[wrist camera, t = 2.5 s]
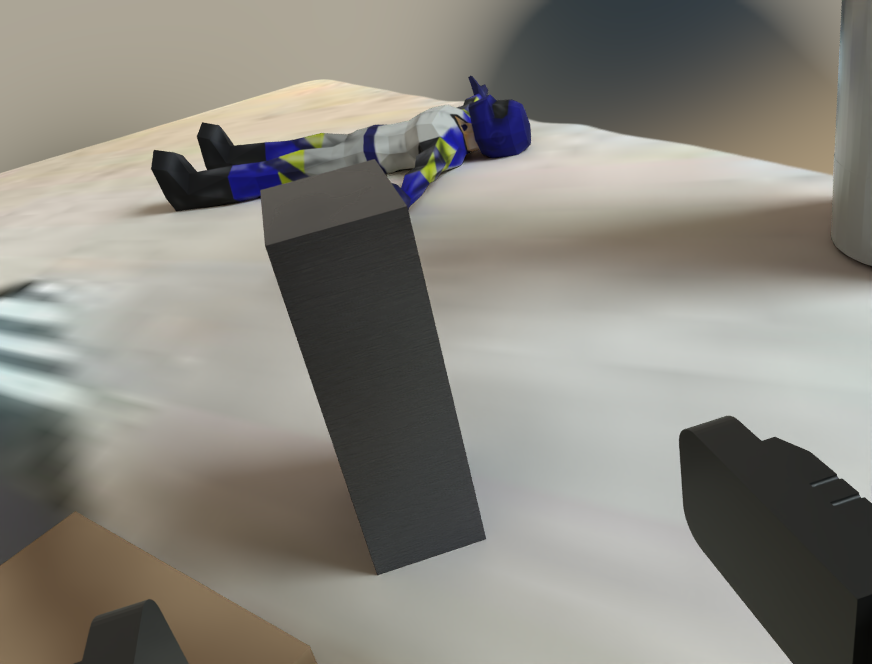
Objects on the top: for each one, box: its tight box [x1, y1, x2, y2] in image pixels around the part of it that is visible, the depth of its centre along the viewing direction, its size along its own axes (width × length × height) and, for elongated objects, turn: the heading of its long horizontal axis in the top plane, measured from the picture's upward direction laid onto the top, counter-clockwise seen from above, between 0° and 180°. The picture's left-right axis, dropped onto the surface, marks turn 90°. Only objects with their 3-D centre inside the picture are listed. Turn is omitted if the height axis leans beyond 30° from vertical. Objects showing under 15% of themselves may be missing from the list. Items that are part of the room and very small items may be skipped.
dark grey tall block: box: [260, 159, 486, 575], centre depth 23 cm, size 5×4×11 cm
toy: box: [151, 76, 531, 211], centre depth 62 cm, size 33×6×30 cm
